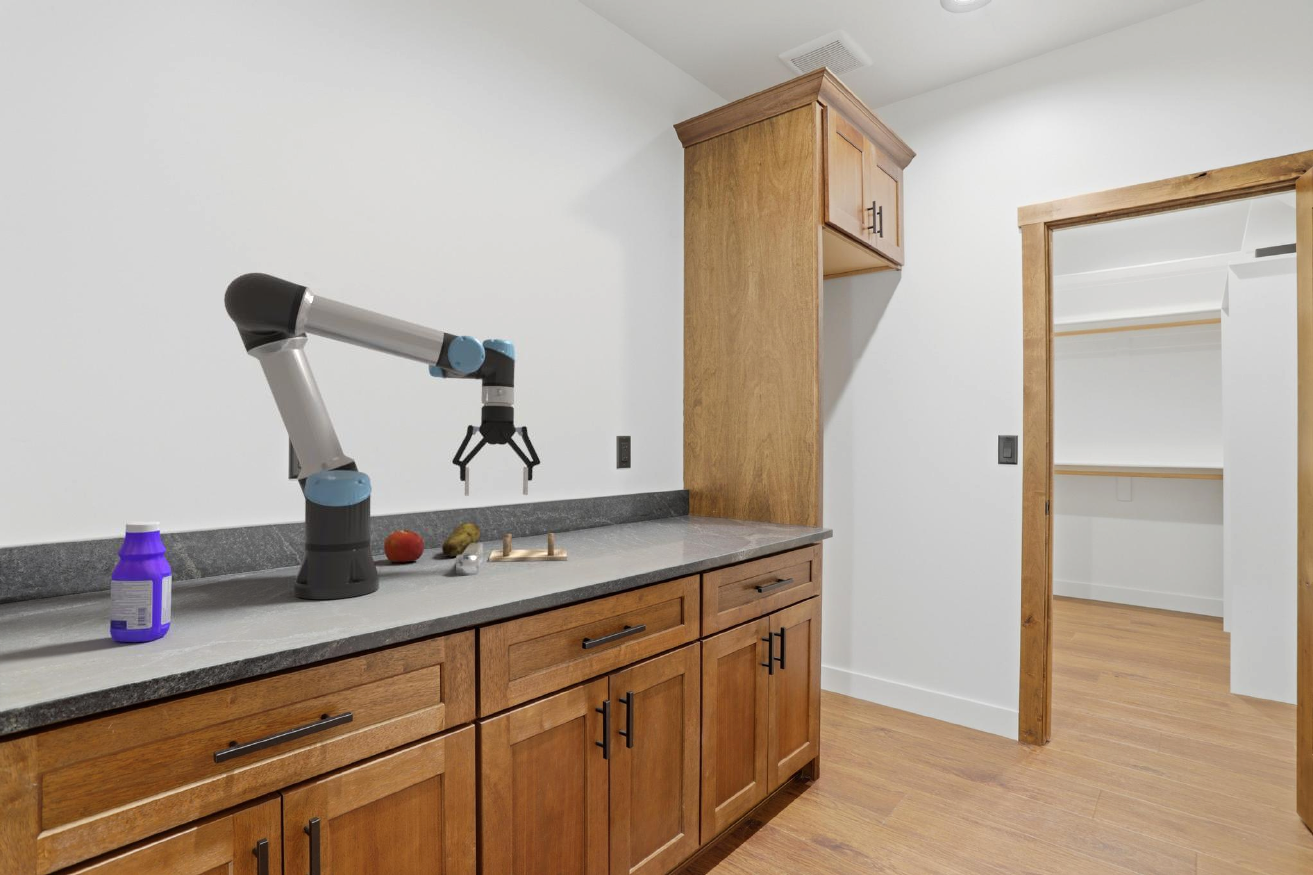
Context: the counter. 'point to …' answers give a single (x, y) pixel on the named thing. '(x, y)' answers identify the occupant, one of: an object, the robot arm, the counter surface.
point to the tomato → (403, 546)
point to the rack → (527, 552)
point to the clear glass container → (469, 559)
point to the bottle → (141, 586)
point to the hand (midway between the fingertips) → (496, 495)
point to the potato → (461, 539)
